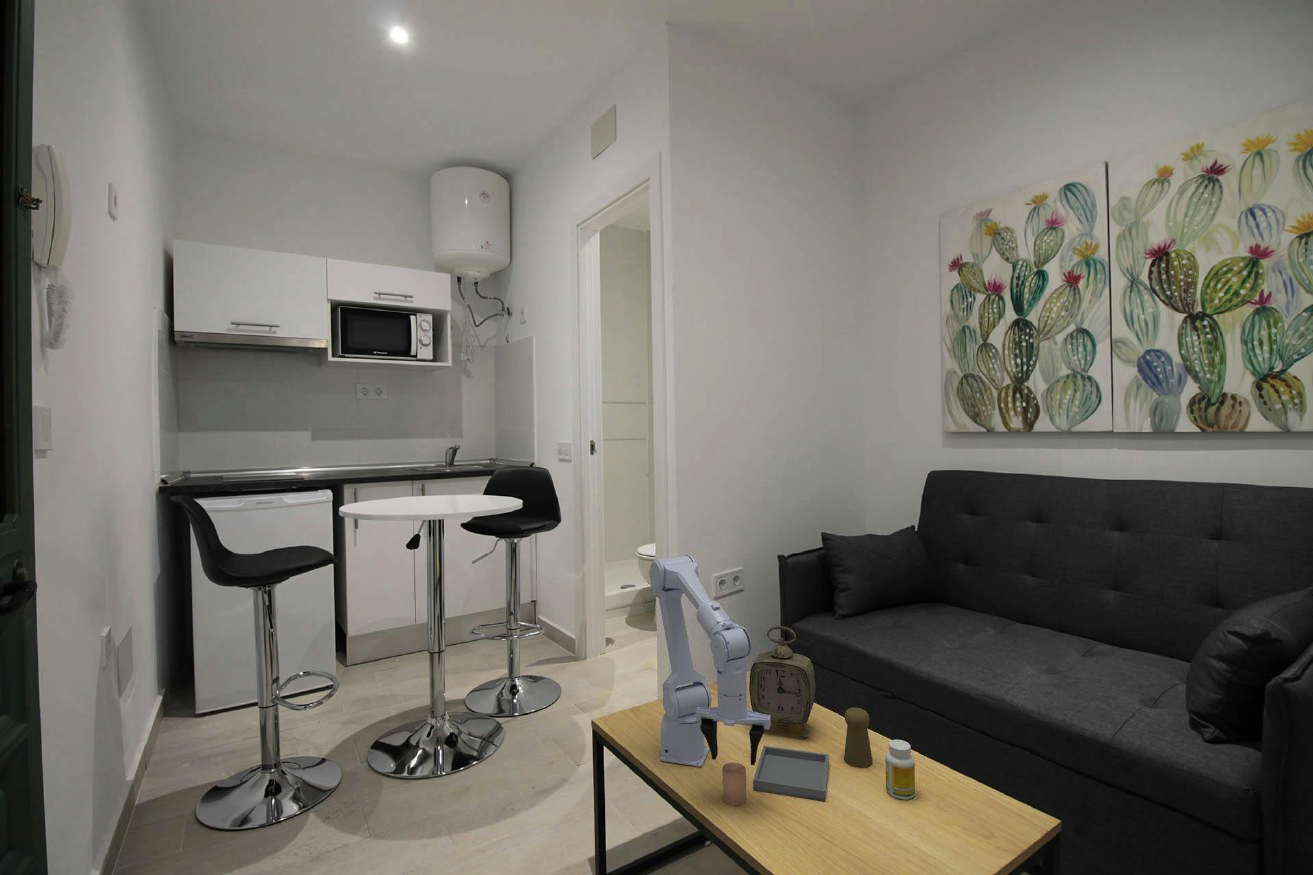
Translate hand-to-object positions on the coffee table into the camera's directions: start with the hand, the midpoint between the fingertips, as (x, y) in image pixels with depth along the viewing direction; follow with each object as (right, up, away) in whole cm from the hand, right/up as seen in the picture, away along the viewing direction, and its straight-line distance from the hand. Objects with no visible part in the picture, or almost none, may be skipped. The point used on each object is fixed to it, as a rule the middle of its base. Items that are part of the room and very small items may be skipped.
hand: (733, 759), depth 120 cm
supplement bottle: (+33, -7, +1) cm, 34 cm away
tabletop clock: (+16, -7, +28) cm, 33 cm away
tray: (+13, -7, +7) cm, 17 cm away
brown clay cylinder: (0, -8, 0) cm, 8 cm away
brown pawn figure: (+29, -7, +13) cm, 32 cm away
